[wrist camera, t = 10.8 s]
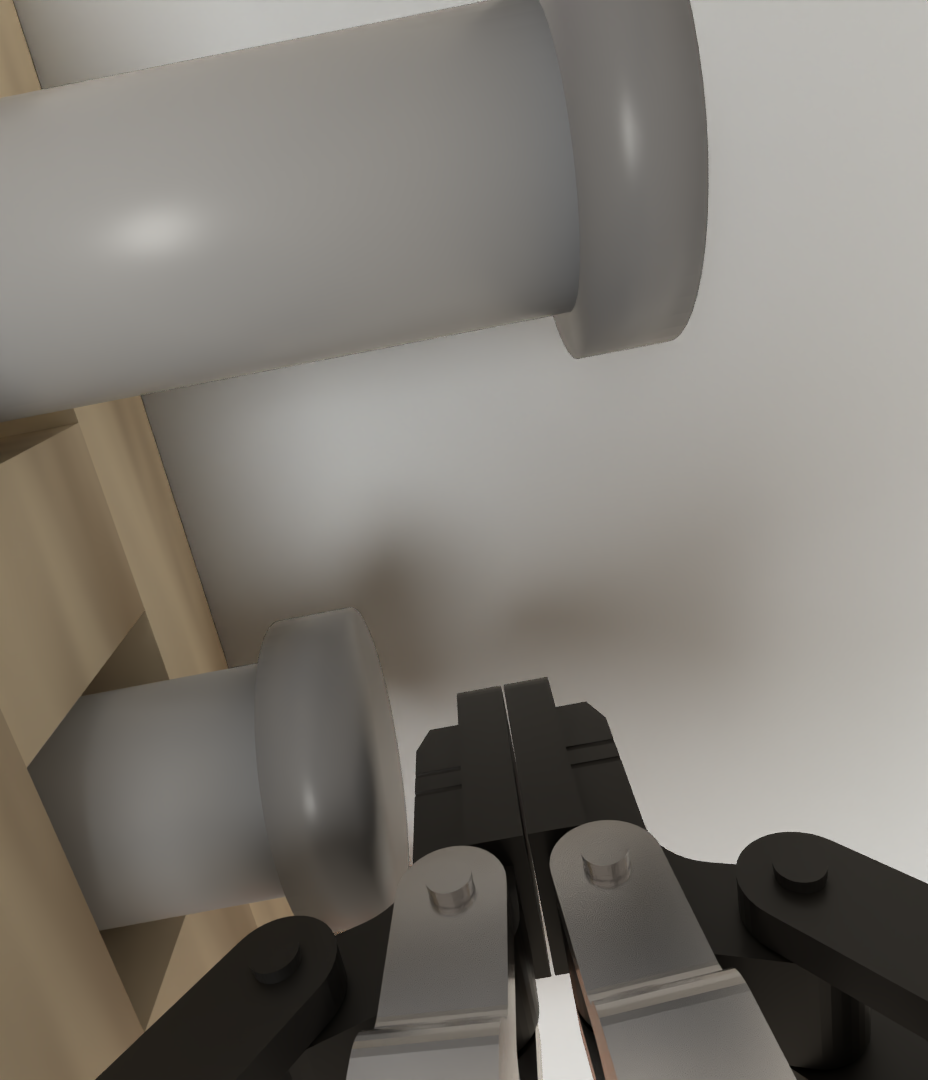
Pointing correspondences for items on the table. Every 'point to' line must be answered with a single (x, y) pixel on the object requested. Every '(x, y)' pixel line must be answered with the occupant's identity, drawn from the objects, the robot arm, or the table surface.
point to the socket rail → (54, 687)
